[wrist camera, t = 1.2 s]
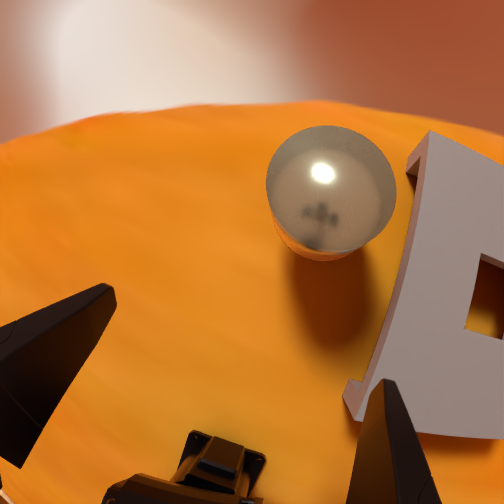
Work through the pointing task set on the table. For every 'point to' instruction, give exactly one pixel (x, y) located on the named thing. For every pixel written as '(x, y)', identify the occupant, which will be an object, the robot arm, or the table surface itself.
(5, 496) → the hand bell
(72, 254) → the table surface
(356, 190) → the grey beige cylinder
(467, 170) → the base
